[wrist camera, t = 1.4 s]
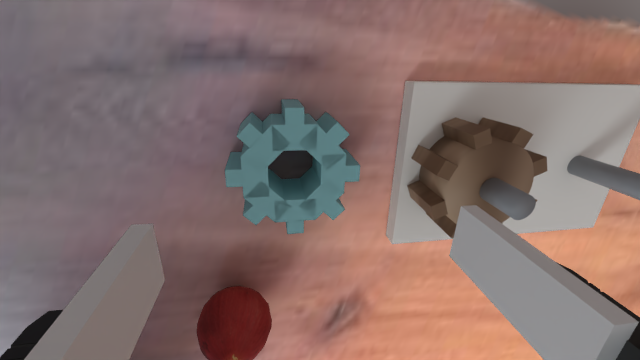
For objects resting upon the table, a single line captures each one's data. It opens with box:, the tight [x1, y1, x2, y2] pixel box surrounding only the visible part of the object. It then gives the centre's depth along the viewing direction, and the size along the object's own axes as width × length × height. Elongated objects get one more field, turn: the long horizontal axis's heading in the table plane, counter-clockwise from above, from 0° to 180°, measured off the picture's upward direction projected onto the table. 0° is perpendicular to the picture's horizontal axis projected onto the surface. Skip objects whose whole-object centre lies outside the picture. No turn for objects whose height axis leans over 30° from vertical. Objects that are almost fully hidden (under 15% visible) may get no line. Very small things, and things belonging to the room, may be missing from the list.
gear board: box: [386, 81, 640, 244], centre depth 24 cm, size 22×14×8 cm, turn 88°
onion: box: [197, 286, 272, 360], centre depth 24 cm, size 6×6×8 cm
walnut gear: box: [407, 117, 547, 238], centre depth 23 cm, size 9×9×4 cm
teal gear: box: [225, 99, 360, 234], centre depth 22 cm, size 9×9×4 cm
